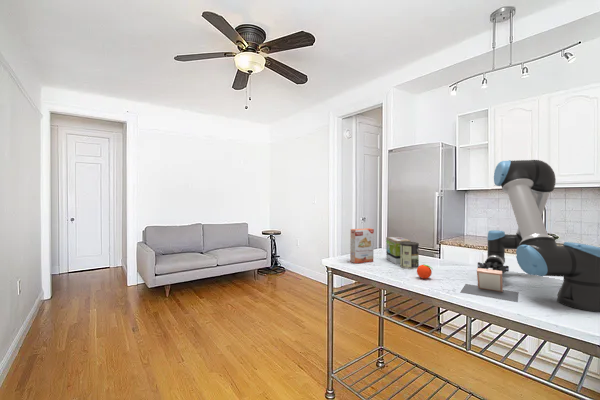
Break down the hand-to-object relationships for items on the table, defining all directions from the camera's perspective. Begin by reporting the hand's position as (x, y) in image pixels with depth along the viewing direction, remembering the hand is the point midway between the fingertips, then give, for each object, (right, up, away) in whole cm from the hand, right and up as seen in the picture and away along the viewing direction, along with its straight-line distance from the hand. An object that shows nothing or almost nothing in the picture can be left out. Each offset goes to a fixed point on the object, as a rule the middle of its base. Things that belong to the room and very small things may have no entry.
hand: (489, 274), depth 131 cm
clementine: (-20, -7, +20) cm, 29 cm away
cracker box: (-44, -7, +58) cm, 73 cm away
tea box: (-21, -7, +58) cm, 62 cm away
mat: (-2, -8, -3) cm, 8 cm away
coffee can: (-19, -7, +44) cm, 48 cm away
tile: (+1, -6, 0) cm, 6 cm away
